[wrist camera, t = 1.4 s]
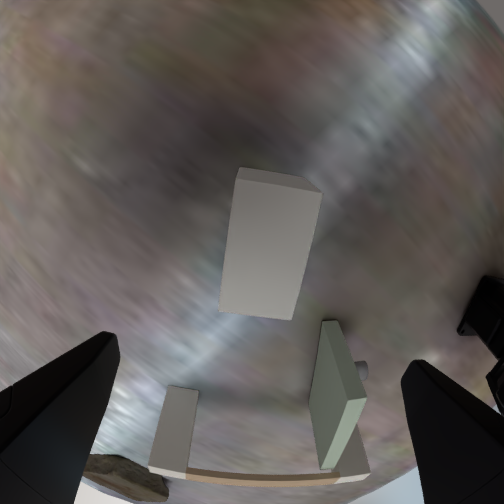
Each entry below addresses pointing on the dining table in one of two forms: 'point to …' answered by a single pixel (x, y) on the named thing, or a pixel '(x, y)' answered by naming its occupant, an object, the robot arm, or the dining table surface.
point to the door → (335, 394)
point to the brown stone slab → (126, 478)
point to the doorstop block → (268, 243)
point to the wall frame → (176, 465)
